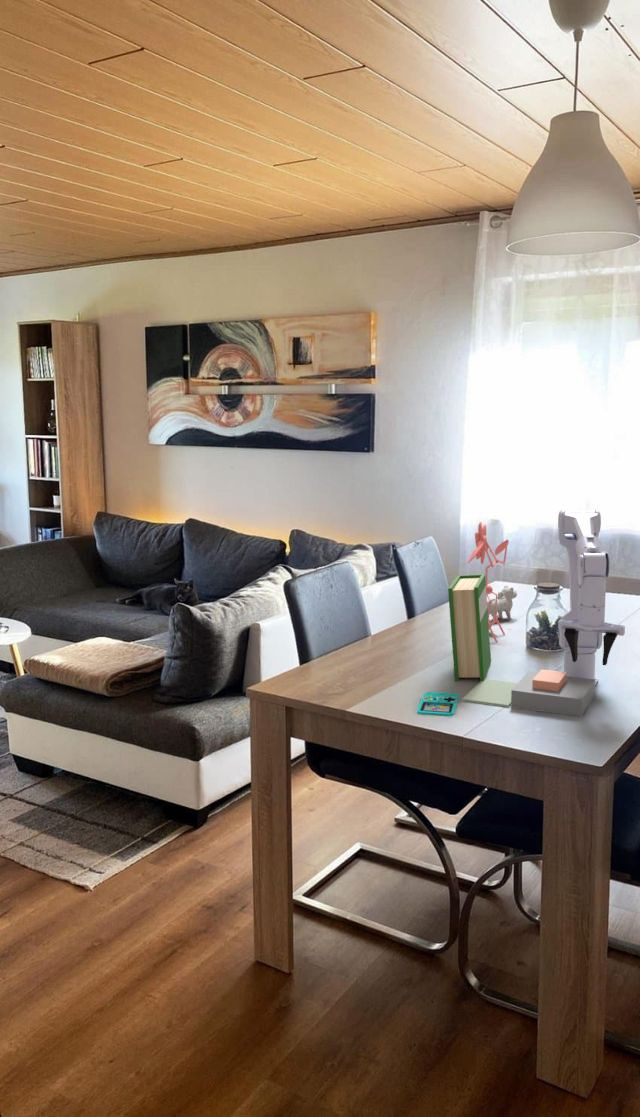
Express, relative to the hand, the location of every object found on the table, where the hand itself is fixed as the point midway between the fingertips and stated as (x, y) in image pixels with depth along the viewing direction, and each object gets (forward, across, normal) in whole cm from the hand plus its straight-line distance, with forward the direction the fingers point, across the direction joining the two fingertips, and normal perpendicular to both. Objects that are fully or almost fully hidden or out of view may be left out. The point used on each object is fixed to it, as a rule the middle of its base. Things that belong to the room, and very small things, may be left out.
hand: (589, 662), depth 205 cm
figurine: (+11, -41, +50) cm, 66 cm away
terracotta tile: (+6, -9, 0) cm, 11 cm away
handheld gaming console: (+11, -32, -13) cm, 36 cm away
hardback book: (+10, -32, +15) cm, 37 cm away
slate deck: (+10, -8, 0) cm, 13 cm away
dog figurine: (+11, -41, +74) cm, 85 cm away
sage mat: (+10, -22, 0) cm, 24 cm away
